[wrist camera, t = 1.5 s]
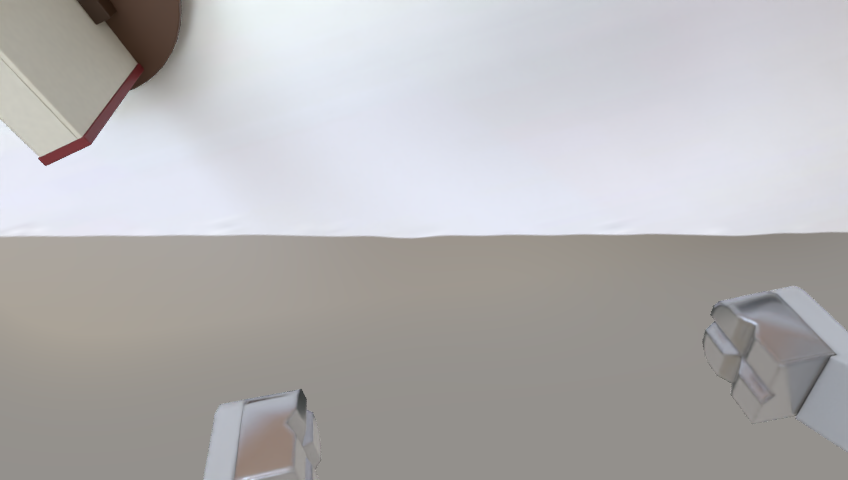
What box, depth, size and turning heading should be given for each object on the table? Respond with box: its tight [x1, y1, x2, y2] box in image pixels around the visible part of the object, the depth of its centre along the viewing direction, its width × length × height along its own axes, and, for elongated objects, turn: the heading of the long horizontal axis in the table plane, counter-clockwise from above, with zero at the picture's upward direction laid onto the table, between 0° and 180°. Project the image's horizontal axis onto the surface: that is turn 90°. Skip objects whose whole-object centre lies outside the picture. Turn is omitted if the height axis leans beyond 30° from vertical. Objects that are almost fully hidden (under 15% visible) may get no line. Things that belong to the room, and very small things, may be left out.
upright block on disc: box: [0, 0, 182, 166], centre depth 31 cm, size 16×16×13 cm
